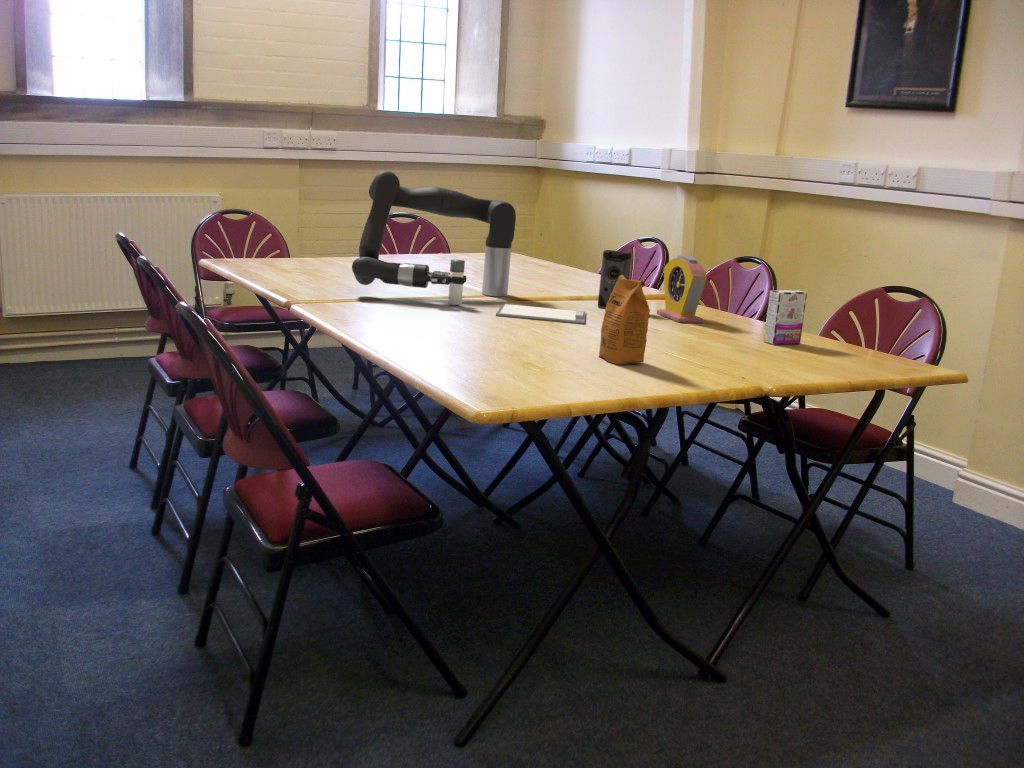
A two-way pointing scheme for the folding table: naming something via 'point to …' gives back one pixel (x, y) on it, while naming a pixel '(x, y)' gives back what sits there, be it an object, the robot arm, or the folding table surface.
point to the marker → (456, 289)
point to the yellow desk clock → (683, 289)
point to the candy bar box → (785, 317)
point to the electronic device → (612, 273)
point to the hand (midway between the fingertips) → (464, 280)
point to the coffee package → (625, 323)
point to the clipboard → (541, 314)
